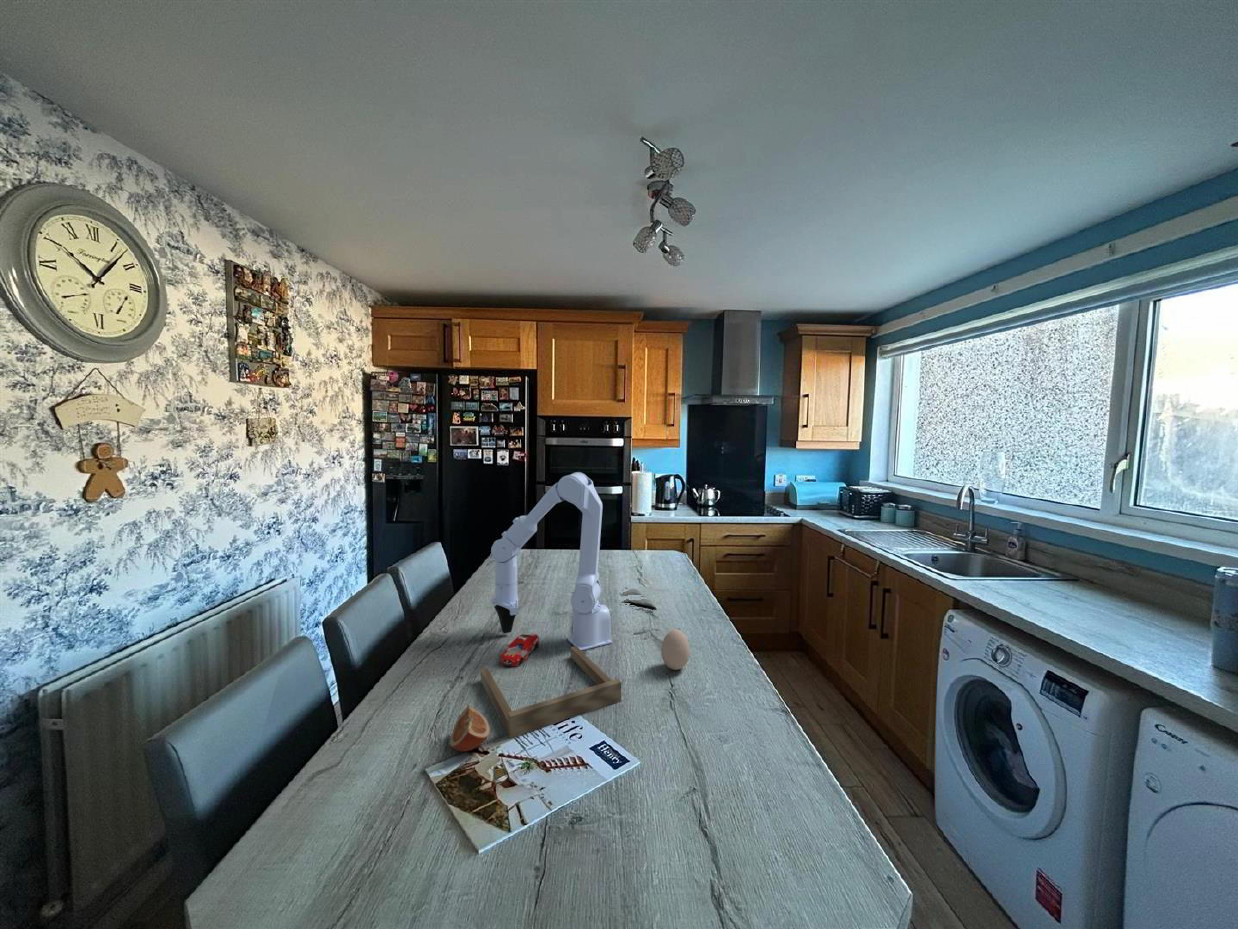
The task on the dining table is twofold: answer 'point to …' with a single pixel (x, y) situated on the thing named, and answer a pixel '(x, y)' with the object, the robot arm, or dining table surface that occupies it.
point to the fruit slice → (469, 730)
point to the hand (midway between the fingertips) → (506, 632)
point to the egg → (675, 650)
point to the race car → (520, 649)
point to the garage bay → (555, 700)
